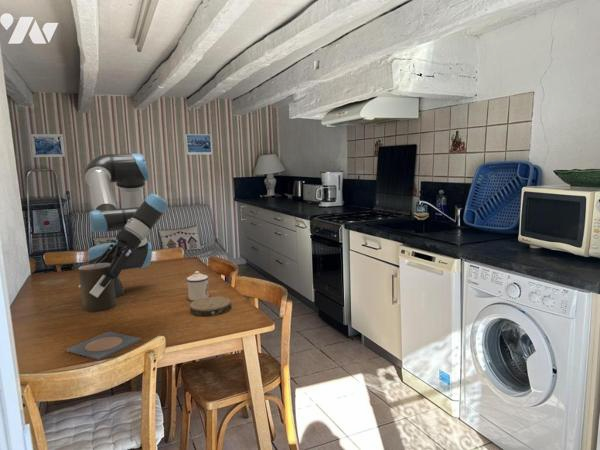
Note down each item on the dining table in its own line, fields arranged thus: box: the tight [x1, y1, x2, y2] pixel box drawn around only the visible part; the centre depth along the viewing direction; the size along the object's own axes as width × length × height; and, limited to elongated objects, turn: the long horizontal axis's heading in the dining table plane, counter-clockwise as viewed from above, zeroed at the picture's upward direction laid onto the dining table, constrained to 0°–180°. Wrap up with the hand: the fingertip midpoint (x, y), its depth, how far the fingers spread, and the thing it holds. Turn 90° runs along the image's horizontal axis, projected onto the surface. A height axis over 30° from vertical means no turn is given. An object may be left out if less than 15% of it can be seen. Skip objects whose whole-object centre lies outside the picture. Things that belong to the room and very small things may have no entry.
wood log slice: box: [189, 296, 232, 317], centre depth 169 cm, size 16×16×3 cm
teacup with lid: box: [186, 270, 210, 302], centre depth 186 cm, size 12×9×12 cm
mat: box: [64, 331, 142, 361], centre depth 139 cm, size 16×16×1 cm
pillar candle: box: [78, 262, 117, 314], centre depth 136 cm, size 10×10×15 cm
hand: (87, 292), depth 134 cm, fingers closed on pillar candle, 9 cm apart
